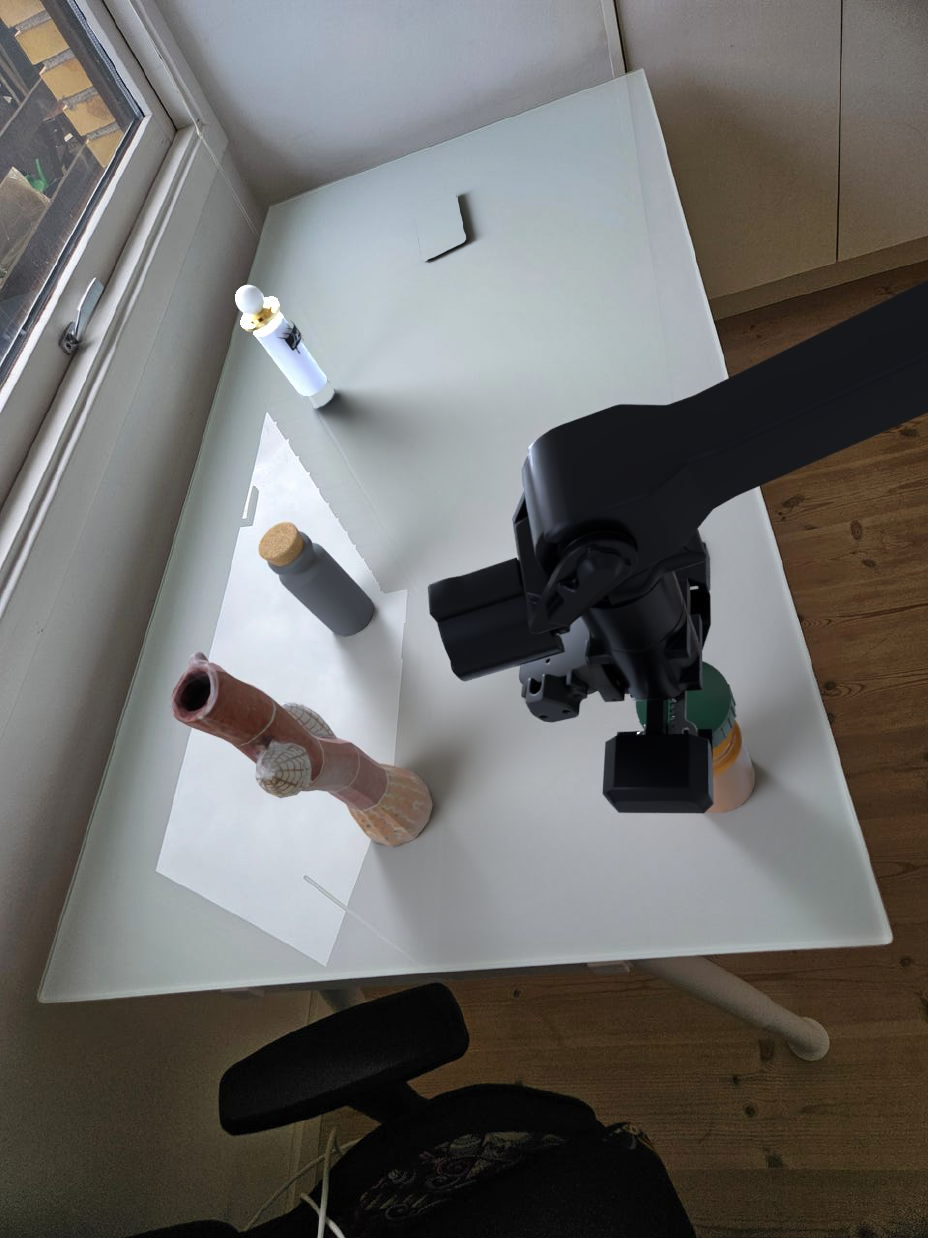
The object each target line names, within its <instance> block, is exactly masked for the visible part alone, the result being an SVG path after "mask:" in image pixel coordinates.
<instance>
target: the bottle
mask: <svg viewBox="0 0 928 1238" xmlns="http://www.w3.org/2000/svg"><path fill="white" fill-rule="evenodd" d="M257 550H258V551H257V552H258V554H259V556H260V557H261V558H262V559H263V560H265V561H266V562H267V565H268V567H269V568H270V570H271V571H272V572H273V573H275V574H276V575H278V579H279V581H280V582H281V585H283V587H284V588H285V589H286V590H287V591H288V592H289V593H290V594H291V595H293V596H294V597H295V598H296V599H297V600H298V601H299V602H300V603H301V604H302V605H303V606H304V607H305V608H306V609H307V610H309V612H310V613H312V615H314V616H315V617H316V618H317V619H318V621H320V622H321V623H322V624H323V625H324V626H326V627H327V629H328V630H330V631H331V632H332V633H333V634H335V635H337V636H338V637H339V636H340V637H350V636H353V635H356V634H357V633H359V632H360V631H362V630H363V629H364V628H365V627H366V626H367V625H368V624H369V621H371V619H372V616H373V612H374V604H373V601H372V599H371V598H370V597H369V595H368V594H367V593H366V592H365V591H364V589H362V587H361V586H360V585H359V584H358V583H357V582H356V581H355V580H354V579H353V578H352V577H351V576H350V575H349V573H348V572H347V571H346V570H345V569H344V568H343V567H342V566H341V565H340V564H339V562H337V560H335V558H334V557H333V556H332V555H331V554H330V553H329V552H328V551H327V550H326V549H325V548H324V547H323V546H322V545H320V544H319V543H317V542H313V541H312V539H311V538H310V536H309V535H308V534H306V533H305V532H304V531H301V530H299V529H298V527H297V525H295V524H294V523H293V522H290V521H283V522H279V523H277V524H275V525H273V526H271V527H269V529H268V530H267V531H265V533H264V534H263V535H262V537H261V539H260V541H259V542H258V547H257Z"/></svg>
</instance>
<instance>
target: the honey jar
mask: <svg viewBox="0 0 928 1238" xmlns="http://www.w3.org/2000/svg"><path fill="white" fill-rule="evenodd" d="M751 760H752V759H751V756H750V754H749V751H748V748H747V744H746V742H745V739H744V737H743V734H742V730H741V728H740V726H739V723H738V722H737V720H736V719H735V721H734V724H733V728H732V729H731V731H730V733H729V734H728V736H727V739H726V738H725V740H724V741H723V742H722V743H720V744H719V745H718V747H715V748H714V749H713V792H714V804H713V805H712V806H711V807H710V808H709V809H708V810H707V811H706V812H709V813H721V814H722V813H728V812H730V811H734V810H735V809H738V808H739V807H741V806H742V805H743V804H744V803H746V802H747V801H748V800H749V798H750V797H751V795H752V793H753V791H754V788H755V783H756V782H755V781H756V771H755V768H754V765H753V763H752V761H751Z"/></svg>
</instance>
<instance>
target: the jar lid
mask: <svg viewBox="0 0 928 1238" xmlns="http://www.w3.org/2000/svg"><path fill="white" fill-rule="evenodd" d="M702 682H703V690H696V691H687V720H688V721H690V722H692V723H694V724H695V725H696V727H697V729H712V730H713V749H714V748H715V747H718V745H719V744H720V743H722V742H723V741H724V740H725V738H726V739H727V736H728V734H729V733H730V731H731V729H732V728H733V724H734V721H735V720H736V718H737V714H736V713H737V712H736V707H737V703H736V701H735V697H734V693H733V691H732V688H731V685H730V683H728V681H727V679H726V678H725V676H724V675H723V674H722V673H721V671H720V670H718V669H717V668H716V667H715V666H714V665H712V664H710V663H708V662H706V661H703V660H702ZM670 703H672V702H671V701H670V699H668V723H669V721H671V720H673V719H670V717H669V716H670V715H671V714H673V713H670V709H672V707H670ZM635 711H636V716H637V718H638V722H639V725H641V728H642V729H643V730H644V724H646V715H647V701H644V700H643V701H635Z"/></svg>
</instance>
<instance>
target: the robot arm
mask: <svg viewBox="0 0 928 1238" xmlns="http://www.w3.org/2000/svg"><path fill="white" fill-rule="evenodd" d="M926 414H928V279H925V280H924V281H922V282H920V283H918V284H916V285H914V286H913V285H912V286H911V287H910V288H907V289H905V290H904V291H902V292H899V293H897V294H895V295H893V296H892V297H889V298H887V299H885V300H884V301H881V302H879V303H877V304H875V305H873V306H871V307H869V308H867V309H865V310H863V311H861V312H859V313H857V314H854V315H853V316H851V317H849V318H847V319H845V320H844V321H840V322H839V323H836V324H834V325H833V326H831V327H828V328H827V329H825V330H823V331H820V332H819V333H817V334H814V335H813V336H811V337H808V338H806V339H805V340H803V341H800V342H799V343H796V344H794V345H792V346H791V347H788V348H786V349H784V350H782V351H780V352H778V353H777V354H774V355H772V356H771V357H768V358H767V359H764V360H762V361H760V362H758V363H756V364H754V365H752V366H750V367H748V368H746V369H744V370H742V371H740V372H738V373H735V374H734V375H732V376H730V377H728V378H726V379H724V380H722V381H720V382H718V383H716V384H714V385H712V386H710V387H708V388H706V389H704V390H701V391H700V392H698V393H696V394H694V395H692V396H688V397H686V398H683V399H680V400H677V401H674V402H672V403H669V404H649V403H648V404H647V403H645V404H643V403H619V404H615V405H612V406H610V407H609V406H608V407H607V408H604V409H601V410H599V411H595V412H593V413H590V414H587V415H584V416H581V417H579V418H576V419H573V420H570V421H568V422H565V423H561V424H560V425H557V426H554V427H553V428H551V429H549V430H547V431H546V432H545V433H543V434H542V435H539V437H537V438H536V439H535V440H534V441H533V442H532V443H531V444H530V445H529V446H528V448H527V452H528V453H527V454H526V457H525V459H524V462H523V464H522V468H521V481H522V482H521V483H522V489H523V491H522V494H521V496H520V499H519V501H518V503H517V506H516V508H515V511H514V514H513V516H512V518H511V521H512V522H511V523H512V528H513V534H514V541H515V547H516V553H517V557H513V558H510V559H507V560H505V561H502V562H499V563H496V564H492V565H489V566H486V567H484V568H481V569H477V570H475V571H474V570H473V571H472V572H468V573H465V574H462V575H457V576H451V577H446V578H443V579H440V580H437V581H434V582H431V583H428V586H427V595H428V596H427V597H428V599H427V600H428V611H429V615H430V616H431V617H432V619H433V620H434V621H435V622H436V625H437V628H438V632H439V635H440V639H441V642H442V646H443V647H444V650H445V652H446V655H447V657H448V659H449V663H450V669H451V671H452V673H453V674H454V675H455V677H456V678H458V679H459V680H460V681H462V682H468V681H472V680H475V679H479V678H482V677H486V676H490V675H493V674H496V673H500V672H503V671H506V670H509V669H512V668H516V667H519V670H518V680H519V682H520V684H522V685H521V692H520V693H521V694H520V696H521V698H523V699H525V700H524V701H525V705H526V707H527V709H528V710H529V712H530V713H531V715H532V716H534V717H535V718H537V719H538V720H540V721H542V722H544V723H551V724H552V723H553V724H554V723H557V722H562V721H565V720H571V719H574V718H577V717H579V715H580V710H581V703H582V701H584V700H586V699H587V698H588V695H592V694H595V693H599V695H600V696H601V698H602V700H603V702H604V703H618V702H624V701H625V699H626V698H625V697H626V696H625V695H629V697H630V699H631V700H632V701H633V702H636V701H643V700H644V701H647V715H646V724H644V729H643V730H633V731H617V732H616V735H615V736H613V737H611V738H609V739H607V740H606V741H605V742H604V757H603V758H604V760H603V776H602V777H603V779H602V793H601V794H602V795H603V796H604V798H605V799H606V801H607V802H608V803H609V805H611V806H612V808H614V809H615V811H616V812H617V813H618V814H705V813H706V812H708V811H707V810H708V809H709V808H710V807H711V806H712V805H713V804H714V792H713V730H712V729H697V727H696V725H695V724H694V723H692V722H690V721H688V720H687V691H696V690H703V682H702V661H703V651H704V647H705V643H706V641H707V638H708V635H709V632H710V629H711V626H712V605H711V604H712V602H711V601H712V600H711V599H712V598H711V597H712V595H711V593H710V591H711V589H712V588H711V587H712V586H711V556H710V552H709V550H708V546H707V543H706V542H704V541H703V539H702V536H701V534H700V530H699V528H700V527H701V525H702V524H703V523H704V522H705V521H706V519H707V518H708V517H709V515H710V514H711V513H712V512H713V511H714V510H715V509H716V508H718V507H720V506H722V505H723V504H726V503H727V502H729V501H731V500H732V499H735V498H736V497H738V496H740V495H742V494H745V493H747V492H750V491H752V490H754V489H755V488H758V487H761V486H763V485H765V484H768V483H770V482H772V481H775V480H776V479H779V478H781V477H783V476H786V475H788V474H790V473H793V472H795V471H797V470H800V469H801V468H805V467H806V466H809V465H811V464H814V463H815V462H818V461H821V460H823V459H825V458H827V457H829V456H832V455H834V454H837V453H839V452H841V451H844V450H845V449H848V448H850V447H853V446H855V445H858V444H859V443H862V442H865V441H866V440H869V439H872V438H874V437H875V436H878V435H881V434H883V433H885V432H887V431H889V430H891V429H894V428H896V427H898V426H901V425H903V424H906V423H907V422H910V421H912V420H915V419H917V418H919V417H922V416H924V415H926ZM693 587H697V588H693ZM668 699H670V701H671V702H672V703H670V707H672V709H670V713H673V714H671V715H670V716H669V717H670V719H673V720H671V721H669V723H668Z"/></svg>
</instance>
